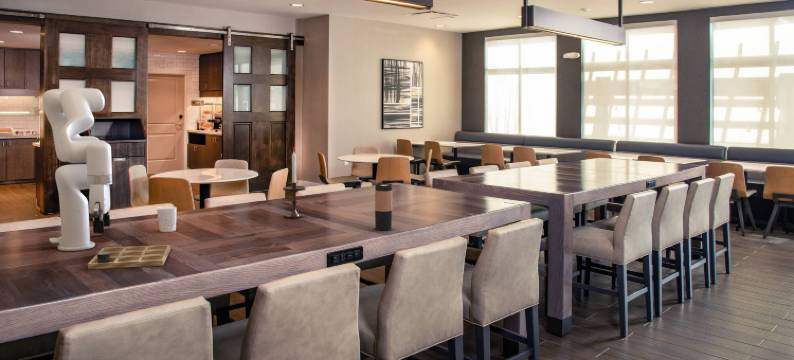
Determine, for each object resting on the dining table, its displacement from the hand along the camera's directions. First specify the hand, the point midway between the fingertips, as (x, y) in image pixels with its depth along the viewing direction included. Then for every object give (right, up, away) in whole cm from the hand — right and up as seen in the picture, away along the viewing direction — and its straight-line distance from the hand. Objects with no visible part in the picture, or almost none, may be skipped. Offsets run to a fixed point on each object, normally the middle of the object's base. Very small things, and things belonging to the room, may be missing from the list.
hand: (101, 229), depth 212 cm
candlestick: (+50, -1, +93) cm, 105 cm away
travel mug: (+94, -5, +66) cm, 115 cm away
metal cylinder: (0, -12, +1) cm, 12 cm away
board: (+6, -11, +10) cm, 16 cm away
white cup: (+1, -5, +58) cm, 58 cm away
